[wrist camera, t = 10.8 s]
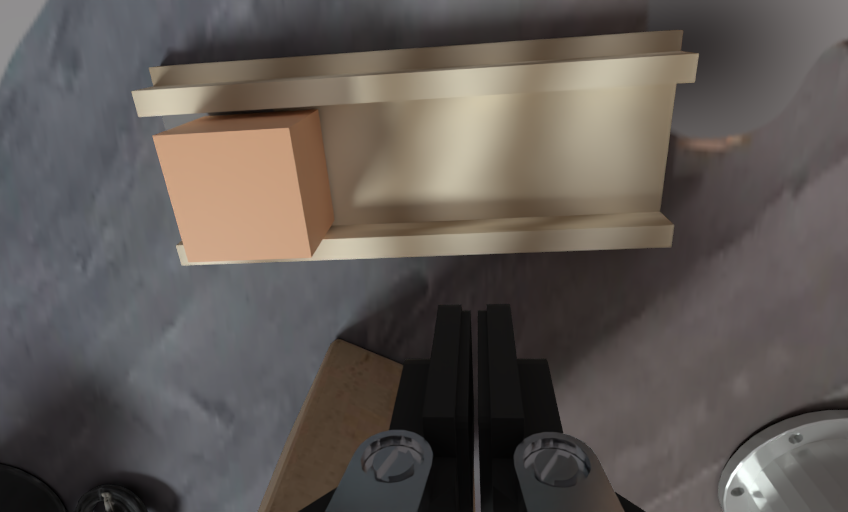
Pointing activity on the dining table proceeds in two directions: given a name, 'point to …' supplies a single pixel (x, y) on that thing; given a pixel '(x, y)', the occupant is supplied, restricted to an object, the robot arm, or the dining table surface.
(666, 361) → the dining table surface
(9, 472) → the milk frother
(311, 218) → the block
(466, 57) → the chute
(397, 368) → the wooden block
